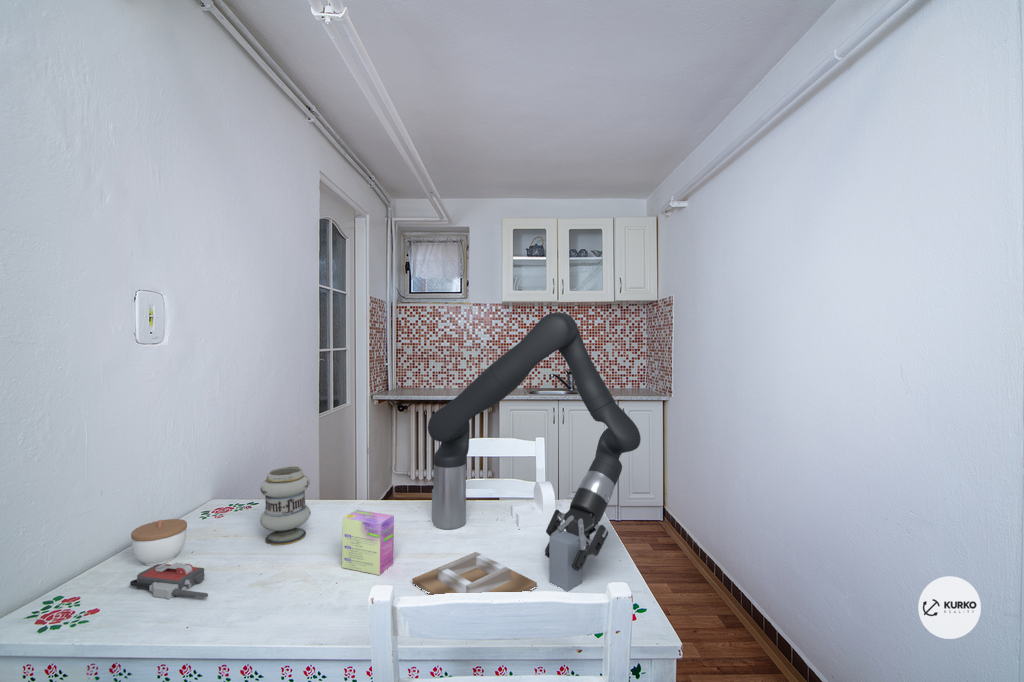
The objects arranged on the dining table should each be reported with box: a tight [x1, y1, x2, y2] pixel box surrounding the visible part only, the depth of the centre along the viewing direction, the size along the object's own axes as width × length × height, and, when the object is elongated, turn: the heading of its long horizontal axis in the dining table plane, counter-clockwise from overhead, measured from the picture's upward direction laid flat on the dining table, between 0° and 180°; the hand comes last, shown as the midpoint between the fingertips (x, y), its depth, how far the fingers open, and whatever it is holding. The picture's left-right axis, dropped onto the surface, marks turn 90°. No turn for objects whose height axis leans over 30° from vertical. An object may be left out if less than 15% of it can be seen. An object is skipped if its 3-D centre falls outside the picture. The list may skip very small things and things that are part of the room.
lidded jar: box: [130, 518, 188, 567], centre depth 112 cm, size 11×11×9 cm
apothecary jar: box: [259, 465, 311, 546], centre depth 124 cm, size 12×12×18 cm
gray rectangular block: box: [548, 530, 583, 593], centre depth 102 cm, size 5×5×10 cm
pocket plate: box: [411, 551, 538, 596], centre depth 100 cm, size 20×18×4 cm
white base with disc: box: [510, 480, 571, 529], centre depth 138 cm, size 18×10×11 cm, turn 103°
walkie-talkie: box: [129, 562, 209, 600], centre depth 99 cm, size 9×4×20 cm
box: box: [341, 509, 395, 576], centre depth 109 cm, size 10×6×12 cm, turn 71°
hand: (561, 562), depth 100 cm, fingers open, 7 cm apart
